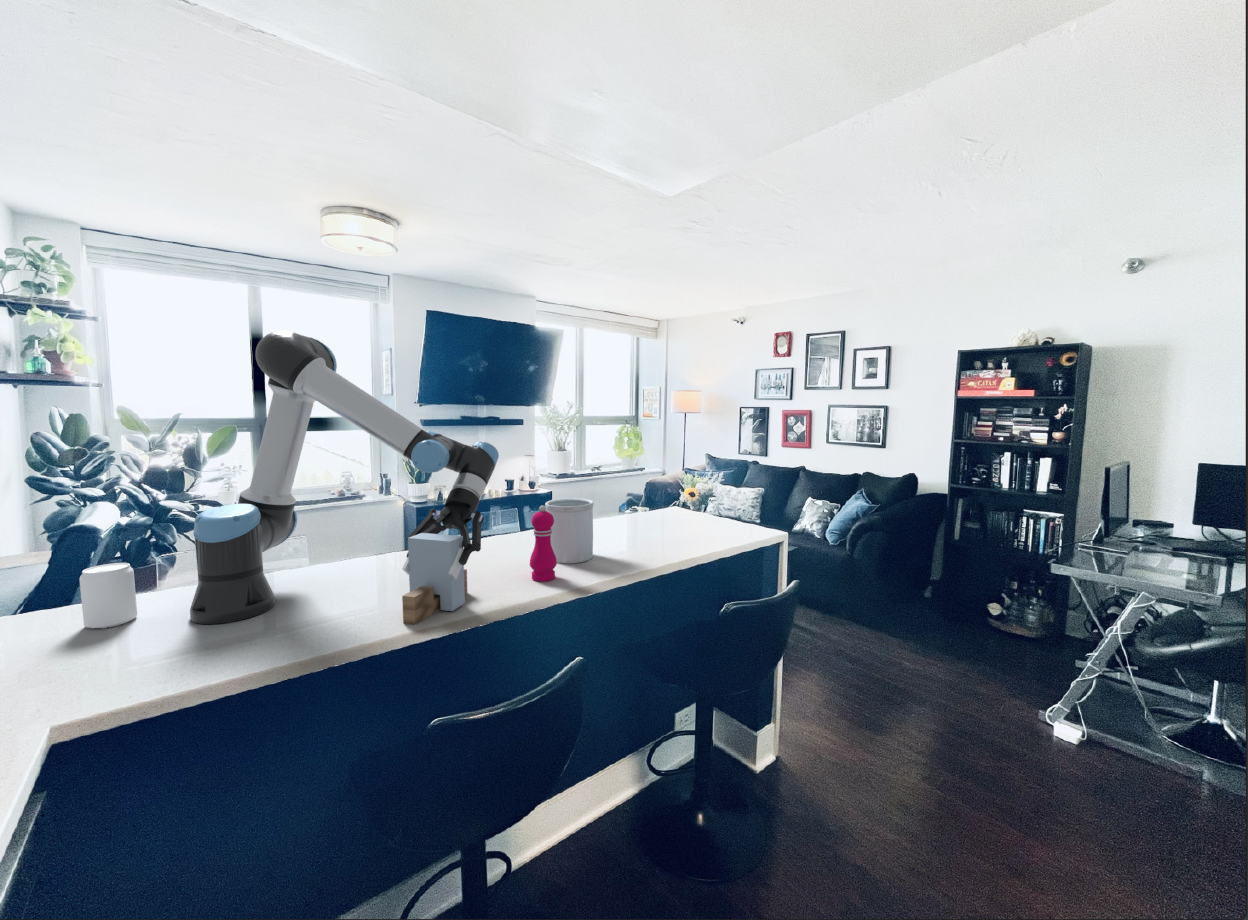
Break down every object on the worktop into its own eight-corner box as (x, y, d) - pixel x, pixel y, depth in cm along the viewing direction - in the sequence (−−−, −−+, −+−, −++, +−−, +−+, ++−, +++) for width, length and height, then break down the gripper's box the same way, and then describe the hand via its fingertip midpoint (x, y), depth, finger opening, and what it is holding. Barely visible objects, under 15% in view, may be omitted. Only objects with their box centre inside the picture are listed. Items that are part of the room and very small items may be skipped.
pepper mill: (538, 584, 135) (537, 509, 134) (525, 577, 141) (523, 505, 139) (561, 578, 140) (561, 505, 138) (547, 572, 146) (547, 502, 144)
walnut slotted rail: (415, 624, 110) (414, 597, 109) (403, 623, 111) (402, 595, 110) (467, 592, 129) (466, 569, 128) (456, 591, 130) (456, 568, 129)
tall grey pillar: (410, 606, 119) (407, 537, 117) (424, 598, 124) (421, 532, 122) (452, 611, 116) (450, 541, 114) (464, 603, 121) (463, 536, 119)
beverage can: (145, 613, 115) (140, 560, 114) (125, 627, 108) (120, 571, 107) (98, 618, 112) (92, 564, 111) (74, 633, 105) (69, 575, 104)
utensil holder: (544, 565, 152) (543, 506, 151) (547, 551, 167) (546, 497, 166) (594, 564, 154) (594, 505, 152) (593, 550, 168) (593, 497, 167)
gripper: (513, 506, 129) (482, 586, 116) (431, 501, 136) (393, 577, 122) (502, 488, 124) (468, 570, 110) (418, 484, 130) (376, 561, 117)
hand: (429, 574), depth 116 cm, fingers open, 11 cm apart
